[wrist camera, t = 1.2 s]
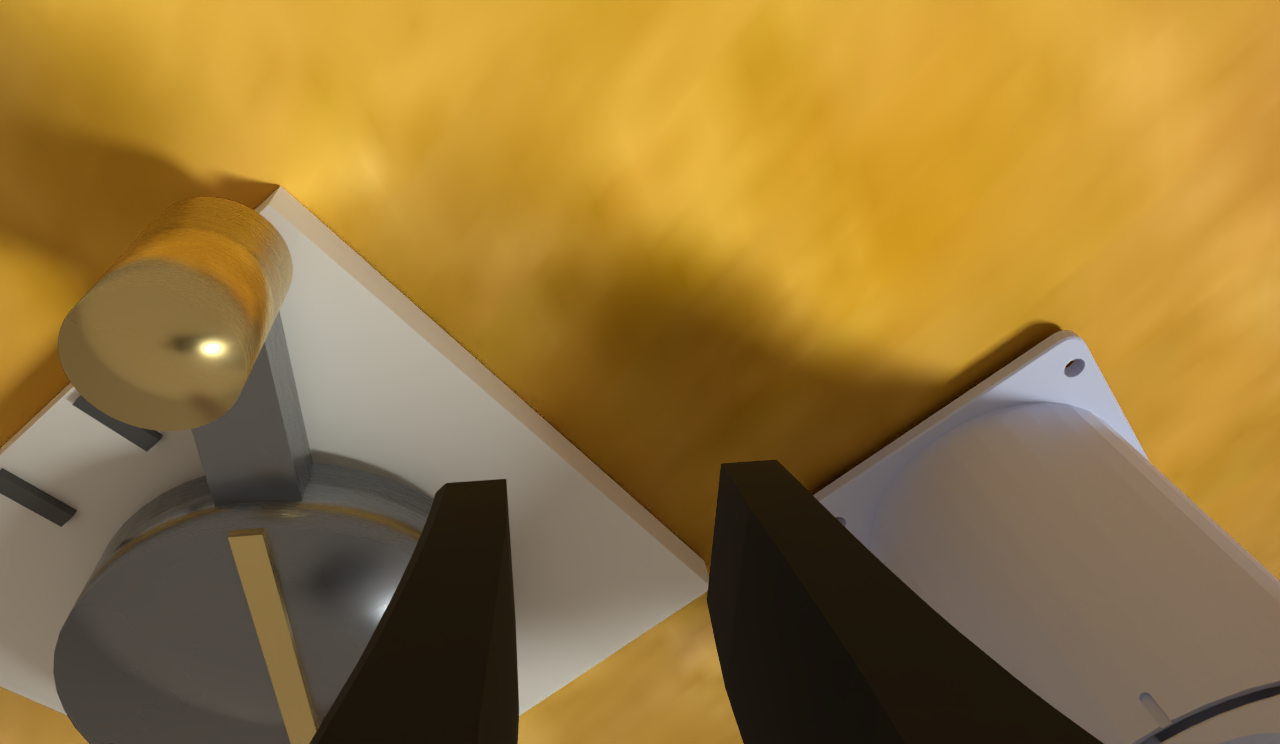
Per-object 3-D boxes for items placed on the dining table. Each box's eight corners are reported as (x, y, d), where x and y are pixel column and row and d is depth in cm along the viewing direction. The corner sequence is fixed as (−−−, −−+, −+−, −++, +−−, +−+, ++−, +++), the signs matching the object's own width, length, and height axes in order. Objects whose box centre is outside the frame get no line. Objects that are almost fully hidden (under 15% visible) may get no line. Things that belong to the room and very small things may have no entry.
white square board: (704, 560, 23) (714, 593, 22) (345, 802, 26) (339, 840, 25) (280, 185, 16) (265, 208, 15) (-140, 579, 19) (-175, 620, 18)
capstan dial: (513, 715, 22) (516, 844, 20) (156, 755, 21) (102, 900, 18) (473, 191, 15) (469, 274, 12) (-91, 202, 13) (-252, 299, 11)
